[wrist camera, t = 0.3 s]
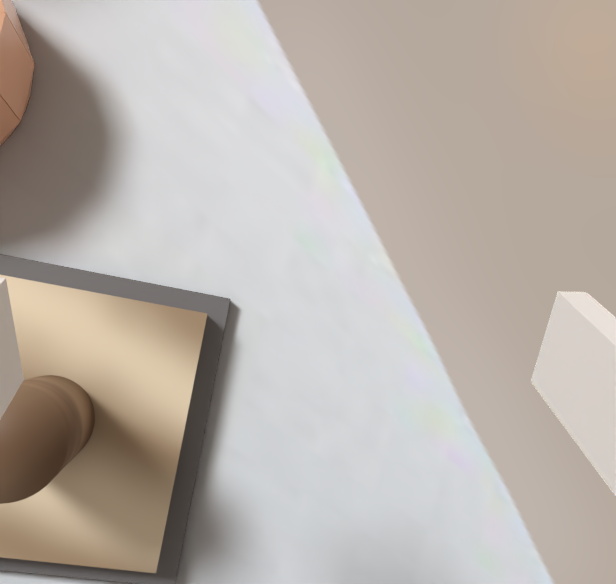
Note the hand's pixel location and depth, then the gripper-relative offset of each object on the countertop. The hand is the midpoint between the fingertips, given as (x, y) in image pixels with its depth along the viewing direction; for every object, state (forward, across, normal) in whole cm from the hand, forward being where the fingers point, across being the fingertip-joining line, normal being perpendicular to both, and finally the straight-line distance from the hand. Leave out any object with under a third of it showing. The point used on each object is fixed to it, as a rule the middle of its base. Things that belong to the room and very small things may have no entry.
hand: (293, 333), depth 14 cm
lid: (+10, +10, +11) cm, 18 cm away
